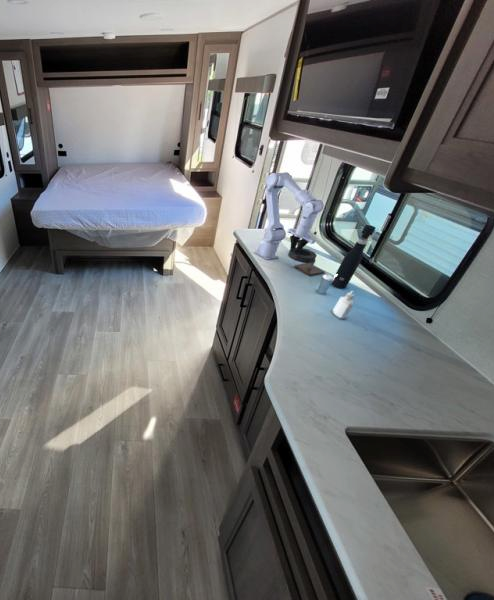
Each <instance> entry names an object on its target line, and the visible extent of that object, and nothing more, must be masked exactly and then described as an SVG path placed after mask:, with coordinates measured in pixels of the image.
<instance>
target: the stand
mask: <svg viewBox="0 0 494 600" xmlns="http://www.w3.org/2000/svg"><path fill="white" fill-rule="evenodd" d="M316 261H317V260H316V259H315V260H314V262H313V263H300V264H295V265H294V266H293V268H295V269H296V270H298V271H300V272H302V273H304V274H305V275H307V276H309V277H313V276H317V275H323V274H324V273H325V270H323V269H321V268H319V267H318V266H316V265H315V263H316Z"/></svg>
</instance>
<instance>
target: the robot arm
mask: <svg viewBox="0 0 494 600" xmlns="http://www.w3.org/2000/svg"><path fill="white" fill-rule="evenodd" d="M265 184H266V188H265V200H266V210H267V223H268V224H267V225H266V227H265V228H264V233H263V238H262V239H261V240H259V243H258V246H257V249H256V251H255V252H254V253H255V254H257V255H259V256H260V257H262V258H263V259H265V260H267V261H268V260H272V259H273V260H274V259H278V258H279V257H278V256H277V255H276V253H277V250H278V248H279V246H280V244H281V242H282V241H283V240H284V239H286V235H287V234H291V235H290V236H289V239H290V249H291V248H294V247H297V248H296V253H299V252H300V250H301V249H302V248H304V247H305V246H306V245H308V244H309V245H313V244H314V245H315V242H316V239H315V238H313V237H312V236H311V235H310V232H311V230H312V228H313V225H314V223H315V221H316V219H317V217H318V214H319V213H321V212H322V211H323V210H324V206H325V205H324V202H323V201H322V199H317V198H316V197H315V196H313V195H312V194H311V193H310V190H308V189H302V188H301V187H300V186H299V185H298V184H297V183H296V181H295V180H294V179H293V176H292V175H291V174H290V172H285V171H284V172H271V173H270V174H269V175H268V176H267V177H266V180H265ZM284 187H285V188H286V189H288V191H290V192H291V193H292V194H293V195H294V200H295V201H297V203H298V204H299V205H300V206H301V207H302V213H301V215H302V216H301V218H300V221H299V223H298V225H297V228H296V229H293V228H288V229H287V233H286V230H285V227H284V226H285V225H283V224H282V223H281V219H280V206H279V194H278V193H279V192H280V191H281V190H282V189H284ZM290 249H289V250H290Z"/></svg>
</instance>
